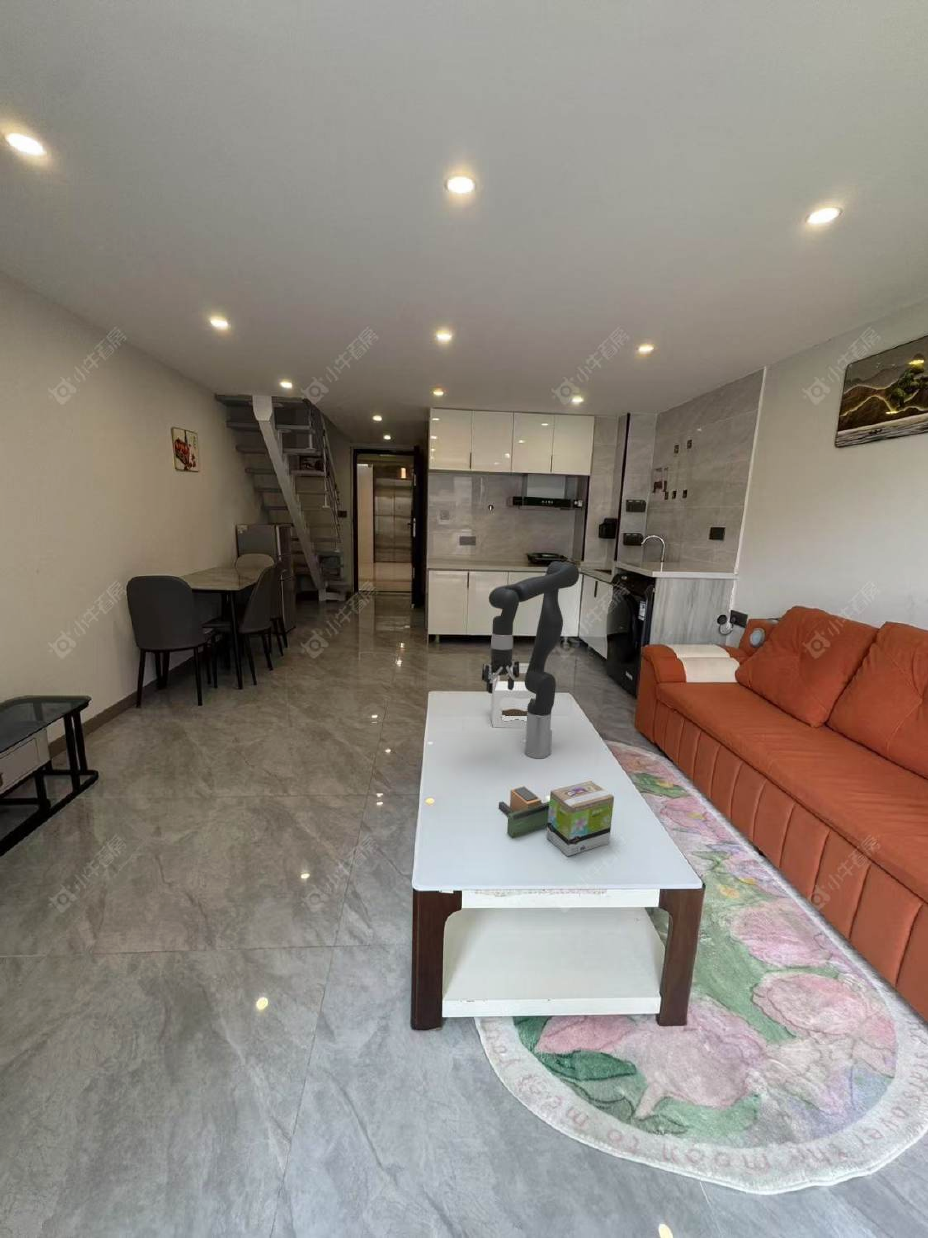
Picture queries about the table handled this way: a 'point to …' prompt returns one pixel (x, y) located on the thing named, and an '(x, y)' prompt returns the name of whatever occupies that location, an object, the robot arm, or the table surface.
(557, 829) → the tea box
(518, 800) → the framed panel box
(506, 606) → the robot arm
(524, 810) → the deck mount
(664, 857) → the table surface
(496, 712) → the gable box
